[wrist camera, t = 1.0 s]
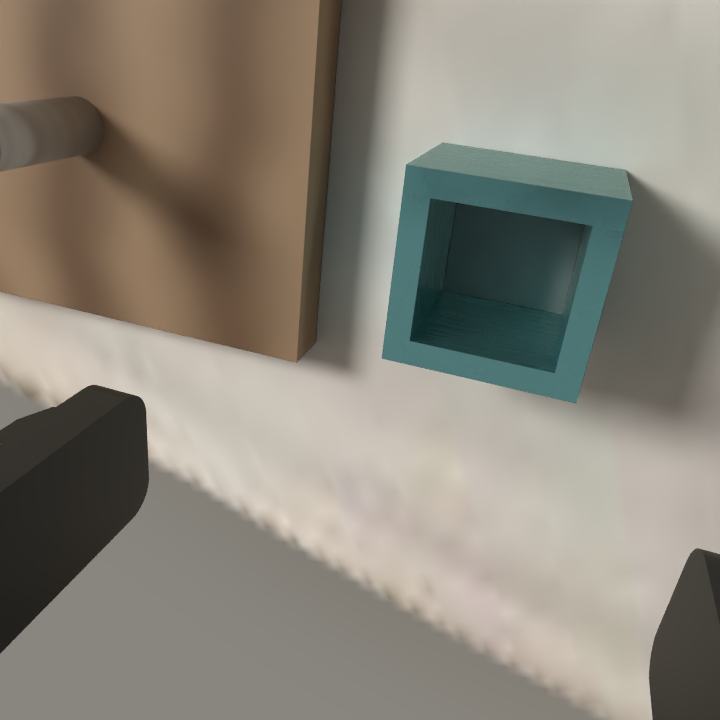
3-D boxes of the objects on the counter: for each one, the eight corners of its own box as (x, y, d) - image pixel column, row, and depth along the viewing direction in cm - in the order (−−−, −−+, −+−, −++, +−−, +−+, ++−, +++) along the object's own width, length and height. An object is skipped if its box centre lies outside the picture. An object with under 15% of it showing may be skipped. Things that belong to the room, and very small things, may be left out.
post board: (348, -93, 21) (201, -177, 13) (315, 342, 28) (204, 457, 20) (-107, -124, 25) (-424, -202, 17) (-41, 260, 32) (-248, 329, 24)
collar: (625, 170, 22) (632, 200, 17) (580, 339, 24) (576, 403, 20) (442, 142, 23) (406, 164, 19) (418, 305, 26) (381, 358, 21)
